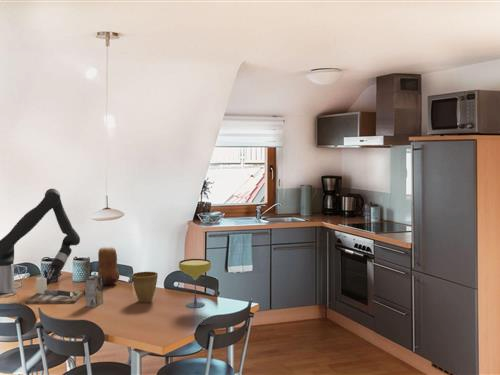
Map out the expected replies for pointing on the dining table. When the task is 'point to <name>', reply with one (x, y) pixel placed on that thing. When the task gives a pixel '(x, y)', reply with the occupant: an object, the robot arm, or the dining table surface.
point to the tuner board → (55, 298)
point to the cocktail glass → (195, 274)
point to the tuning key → (42, 288)
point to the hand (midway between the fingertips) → (45, 284)
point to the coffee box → (94, 290)
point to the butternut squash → (108, 265)
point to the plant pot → (145, 285)
